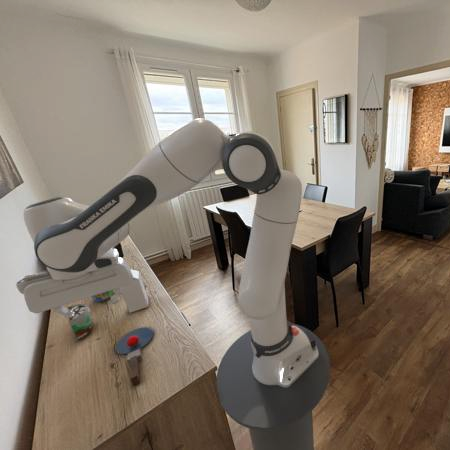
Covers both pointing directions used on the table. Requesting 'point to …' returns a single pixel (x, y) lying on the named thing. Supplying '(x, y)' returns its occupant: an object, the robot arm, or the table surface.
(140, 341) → the plate
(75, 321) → the food container
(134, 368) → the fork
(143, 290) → the milk carton
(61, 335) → the table surface
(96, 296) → the snack cup
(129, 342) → the strawberry
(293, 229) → the robot arm
